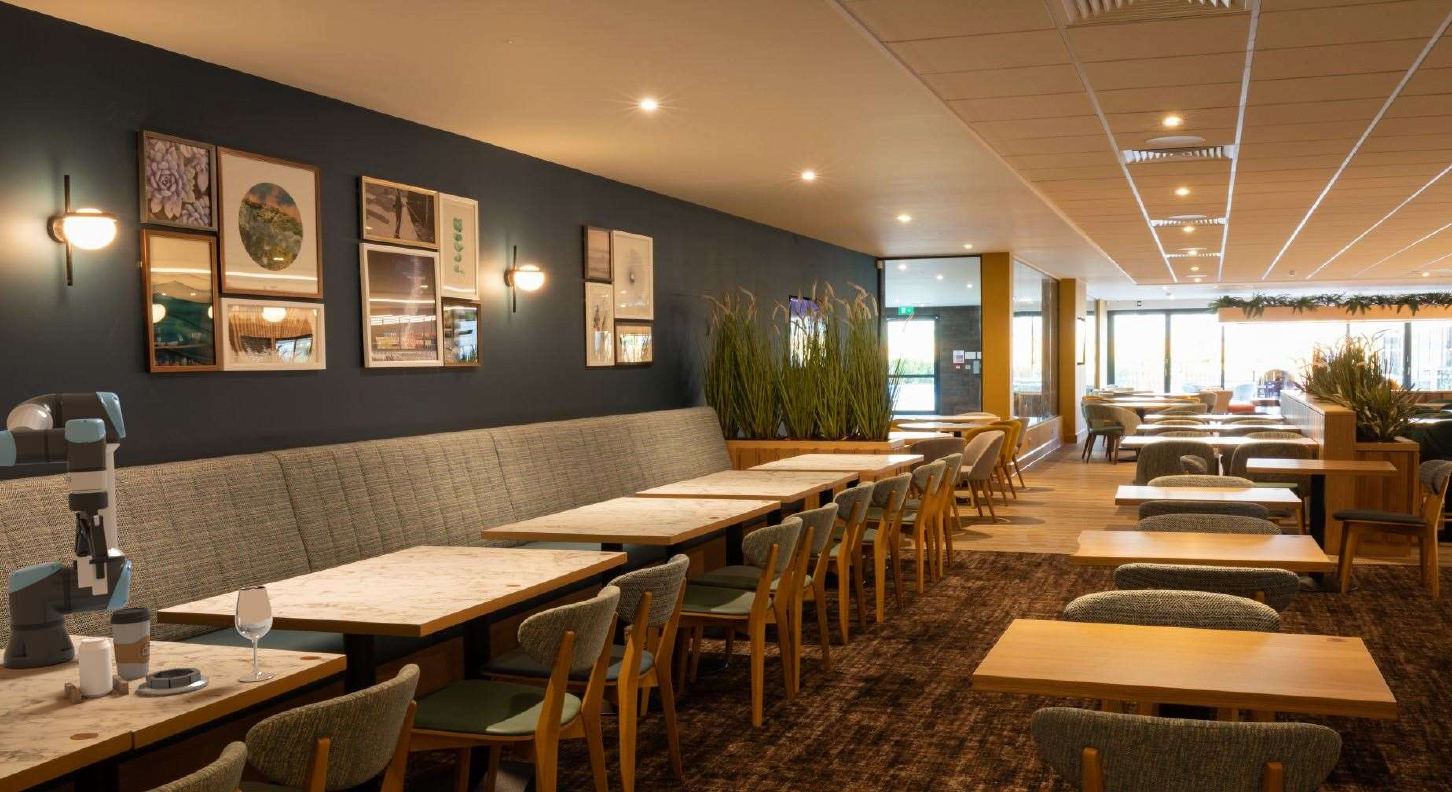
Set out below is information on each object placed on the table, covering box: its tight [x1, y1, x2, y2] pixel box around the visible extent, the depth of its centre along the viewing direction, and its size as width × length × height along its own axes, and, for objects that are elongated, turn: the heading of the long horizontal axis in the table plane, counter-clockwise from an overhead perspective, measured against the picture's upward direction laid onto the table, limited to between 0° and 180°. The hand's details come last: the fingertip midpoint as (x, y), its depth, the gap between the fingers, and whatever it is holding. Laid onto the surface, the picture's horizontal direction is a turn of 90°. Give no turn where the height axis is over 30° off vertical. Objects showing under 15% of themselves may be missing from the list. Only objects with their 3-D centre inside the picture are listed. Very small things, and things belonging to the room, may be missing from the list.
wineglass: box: [234, 585, 275, 683], centre depth 273 cm, size 8×8×20 cm
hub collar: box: [137, 667, 210, 697], centre depth 267 cm, size 14×14×3 cm
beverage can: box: [77, 636, 114, 698], centre depth 263 cm, size 6×6×12 cm
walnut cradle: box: [64, 674, 130, 705], centre depth 263 cm, size 10×10×2 cm
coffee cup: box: [110, 606, 152, 681], centre depth 278 cm, size 8×8×15 cm
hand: (92, 590), depth 262 cm, fingers open, 13 cm apart
